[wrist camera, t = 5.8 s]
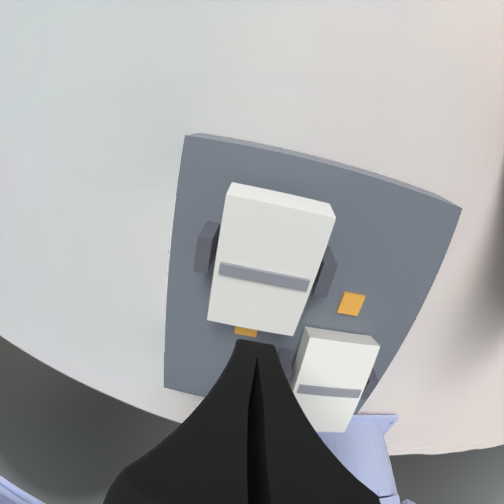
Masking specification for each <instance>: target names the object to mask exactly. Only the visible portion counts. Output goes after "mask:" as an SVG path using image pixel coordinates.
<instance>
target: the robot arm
mask: <svg viewBox="0 0 504 504" xmlns="http://www.w3.org/2000/svg"><path fill="white" fill-rule="evenodd" d="M397 419H398V417H397V415H395V414H393V415H363V414H356V415H353V416H352V418H351V420H350V422H349V424H348V426H347V429H346V431H345V433H343V432H317V431H315V429H314V428H313V426H312V425H311V423H310V422H309V420H308V419H307V417H306V415H305V414H304V412H303V410H302V408H301V406H300V405H299V403H298V401H297V399H296V397H295V395H294V393H293V391H292V389H291V386H290V384H289V382H288V380H287V378H286V375H285V373H284V370H283V368H282V365H281V362H280V359H279V356H278V353H277V350H276V347H275V346H274V345H272V344H266V343H260V342H255V341H249V340H244V339H238V340H236V343H235V347H234V350H233V353H232V355H231V357H230V359H229V361H228V363H227V365H226V367H225V369H224V370H223V372H222V374H221V375H220V377H219V379H218V380H217V382H216V383H215V385H214V386H213V387H212V389H211V390H210V392H209V393H208V394H207V396H206V397H205V398H204V400H203V401H202V402H201V403H200V404H199V406H198V407H197V408H196V409H195V410H194V411H193V412H192V414H191V415H190V416H189V417H188V418H187V419H186V420H185V421H184V422H183V423H182V424H181V425H180V426H179V427H178V428H177V429H176V430H175V431H174V432H173V433H172V434H170V435H169V436H168V437H167V438H166V439H164V440H163V441H162V442H161V443H160V444H158V445H157V446H156V447H155V448H153V449H152V450H151V451H149V452H148V453H147V454H146V455H144V456H142V457H141V458H139V459H138V460H136V461H135V462H133V463H132V464H130V465H129V466H127V467H126V468H124V470H123V471H122V472H121V473H120V474H119V476H118V477H117V478H116V479H115V481H114V482H113V484H112V485H111V487H110V488H109V490H108V492H107V494H106V497H105V500H104V503H103V504H401V503H400V499H399V495H398V494H397V489H396V485H395V480H394V476H393V472H392V467H391V463H390V459H389V455H388V451H387V447H386V443H385V439H384V435H385V433H386V432H387V431H388V430H389V429H390V428H391V427H392V425H393V424H394V423H395V422H396V421H397ZM402 503H403V504H415V503H414V502H412V501H409V500H408V499H407V500H405V501H403V502H402ZM0 504H45V503H43V502H42V501H40V500H38V499H36V498H35V497H33V496H31V495H29V494H28V493H26V492H25V491H23V490H21V489H20V488H18V487H17V486H15V485H14V484H12V483H11V482H9V481H7V480H6V479H5V478H3V477H2V476H0Z"/></svg>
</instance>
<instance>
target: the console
mask: <svg viewBox="0 0 504 504" xmlns="http://www.w3.org/2000/svg"><path fill="white" fill-rule="evenodd" d="M232 182H234V183H239V184H244V185H249V186H254V187H259V188H264V189H268V190H273V191H278V192H282V193H287V194H291V195H296V196H300V197H304V198H309V199H313V200H317V201H321V202H325V203H329V204H330V205H331V208H332V210H333V212H334V215H335V217H336V220H335V223H334V226H333V229H332V232H331V235H330V238H329V241H328V244H327V247H326V250H325V253H324V255H323V258H322V261H321V264H320V267H319V269H318V272H317V275H316V278H315V280H314V283H313V286H312V289H311V291H310V294H309V297H308V299H307V302H306V304H305V307H304V310H303V312H302V315H301V317H300V320H299V322H298V325H297V327H296V330H295V332H294V335H293V336H289V335H282V334H277V333H271V332H265V331H260V330H254V329H249V328H244V327H238V326H233V325H228V324H223V323H219V322H214V321H209V320H207V316H208V309H209V301H210V294H211V287H212V280H213V274H214V267H215V260H216V254H217V247H218V241H219V235H220V228H221V222H222V216H223V210H224V204H225V198H226V194H227V191H228V189H229V187H230V185H231V183H232ZM461 211H462V208H461V207H459V206H457V205H455V204H453V203H452V202H450V201H448V200H446V199H444V198H442V197H441V196H439V195H437V194H434V193H432V192H429V191H426V190H424V189H421V188H418V187H415V186H412V185H410V184H407V183H404V182H401V181H398V180H395V179H392V178H389V177H386V176H383V175H379V174H376V173H373V172H370V171H366V170H363V169H360V168H356V167H353V166H349V165H346V164H342V163H339V162H335V161H331V160H328V159H324V158H320V157H316V156H312V155H308V154H304V153H300V152H296V151H291V150H287V149H282V148H278V147H273V146H269V145H264V144H259V143H254V142H249V141H244V140H238V139H233V138H227V137H221V136H215V135H209V134H203V133H197V134H191V135H185V139H184V145H183V152H182V158H181V165H180V172H179V179H178V186H177V194H176V196H175V198H174V207H173V215H172V225H171V234H170V245H169V256H168V268H167V282H166V298H165V317H164V346H163V352H164V387H165V388H169V389H173V390H177V391H181V392H185V393H189V394H194V395H198V396H203V397H206V396H207V394H208V393H209V392H210V390H211V389H212V387H213V386H214V385H215V383H216V382H217V380H218V379H219V377H220V375H221V374H222V372H223V370H224V369H225V367H226V365H227V363H228V361H229V359H230V357H231V355H232V353H233V350H234V347H235V343H236V340H238V339H244V340H249V341H255V342H260V343H266V344H272V345H274V346H275V347H276V350H277V353H278V356H279V359H280V362H281V365H282V368H283V370H284V373H285V375H286V378H287V380H288V382H289V379H290V377H291V375H292V369H293V366H294V363H295V359H296V356H297V352H298V349H299V345H300V342H301V338H302V335H303V331H304V328H305V326H306V327H312V328H319V329H325V330H332V331H339V332H346V333H353V334H360V335H368V336H371V337H372V338H373V339H374V340H375V341H376V342H377V343H378V344H379V345H380V349H379V352H378V354H377V357H376V360H375V363H374V365H373V368H372V370H371V373H370V376H369V378H368V381H367V383H366V386H365V388H364V390H363V393H362V395H361V398H360V400H359V402H358V404H357V407H356V409H355V411H354V413H353V415H356V414H357V413H358V411H359V410H360V408H361V407H362V406H363V404H364V403H365V401H366V400H367V399H368V397H369V396H370V394H371V393H372V391H373V390H374V388H375V387H376V385H377V384H378V382H379V381H380V379H381V377H382V376H383V374H384V373H385V371H386V370H387V368H388V366H389V365H390V363H391V361H392V360H393V358H394V356H395V355H396V353H397V351H398V350H399V348H400V346H401V344H402V343H403V341H404V339H405V337H406V336H407V334H408V332H409V330H410V328H411V326H412V325H413V323H414V321H415V319H416V317H417V315H418V313H419V311H420V309H421V307H422V305H423V303H424V301H425V299H426V297H427V295H428V293H429V291H430V288H431V286H432V284H433V282H434V280H435V278H436V275H437V273H438V271H439V268H440V266H441V264H442V261H443V259H444V257H445V254H446V252H447V249H448V247H449V244H450V241H451V239H452V236H453V233H454V231H455V228H456V225H457V222H458V220H459V217H460V214H461Z"/></svg>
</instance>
